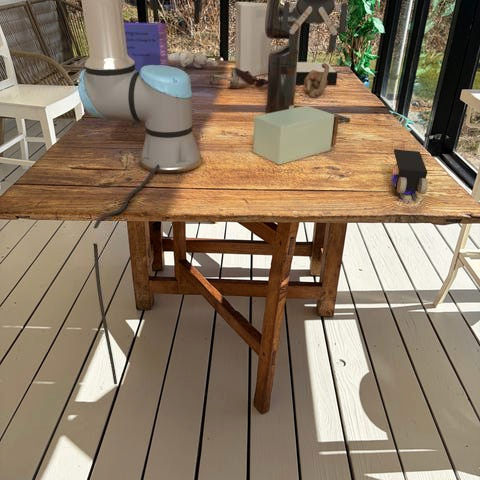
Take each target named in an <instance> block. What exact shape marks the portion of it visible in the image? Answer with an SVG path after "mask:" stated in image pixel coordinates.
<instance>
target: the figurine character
mask: <svg viewBox="0 0 480 480" xmlns="http://www.w3.org/2000/svg"><path fill="white" fill-rule="evenodd" d="M393 153H394V158H395V161H396V163H395V164H394V166H393V168H392V177H393V178H391V182H392V184H393V185H394V190H396V192H397V193H398V194H399V198H400V199H402V200H403V199H404V194H406V195H409V194H411V197H412V200H414V201H416V200H417V199H418V197H417V193H418V194H420V195H426V194H427V191H428V187H429V180H428V178H427V175H428V170H427V167H426V165H425V162H424V159H423V157H422V154H421V152H420V151H417V150H407V149H397V148H394V149H393Z"/></svg>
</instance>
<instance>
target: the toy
mask: <svg viewBox="0 0 480 480" xmlns="http://www.w3.org/2000/svg"><path fill="white" fill-rule="evenodd" d="M168 62H170V63H176V62H177V63H179V64H180V65H181V67H182V68H185V67H187V66H188V67H189V66H191V65H192V64H193V67H195V68H196V69H201V66H204V65H207V64H212V65H213V66H214V67H216V68H217V67H218V66H219V63H218V62H217V61H216V60H215V59H213V58H207V56H206V55H205V54H202V53H201V51H197V52H196V53H193V52H190V51H187V50H184V51H177V52H172V53H168Z"/></svg>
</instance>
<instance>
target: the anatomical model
mask: <svg viewBox="0 0 480 480" xmlns="http://www.w3.org/2000/svg"><path fill="white" fill-rule="evenodd" d="M322 67H323V68H325V70H324V72H319V71H315V70H312V71H310V73H309V74H308V75H307V76H306V78H305V80H304V85H303V86H304V87H305V88H306V92H307V93H308V94H309V97H310V98H317V97H318V96H319V95H320V94H322V93H323V92H324V91H325V90H326V88H327V82H328V81H327V75H328V72H329V66H328V65H327V64H326V63H323V64H322Z"/></svg>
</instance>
